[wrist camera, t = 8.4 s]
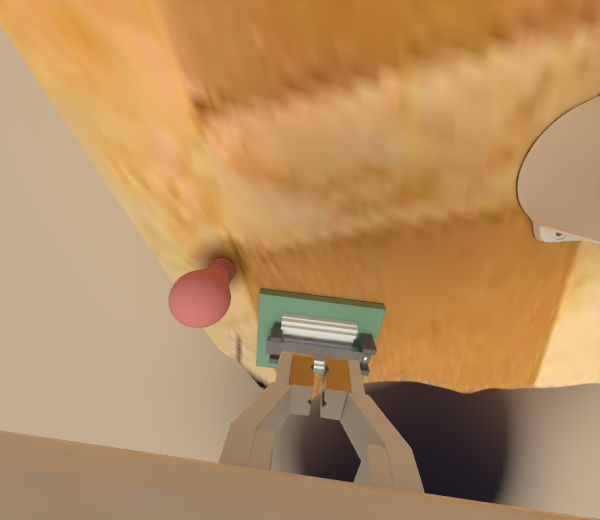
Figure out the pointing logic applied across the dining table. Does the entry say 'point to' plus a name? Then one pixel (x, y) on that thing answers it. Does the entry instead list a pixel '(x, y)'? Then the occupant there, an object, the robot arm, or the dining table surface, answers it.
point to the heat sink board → (316, 323)
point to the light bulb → (202, 295)
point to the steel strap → (317, 350)
